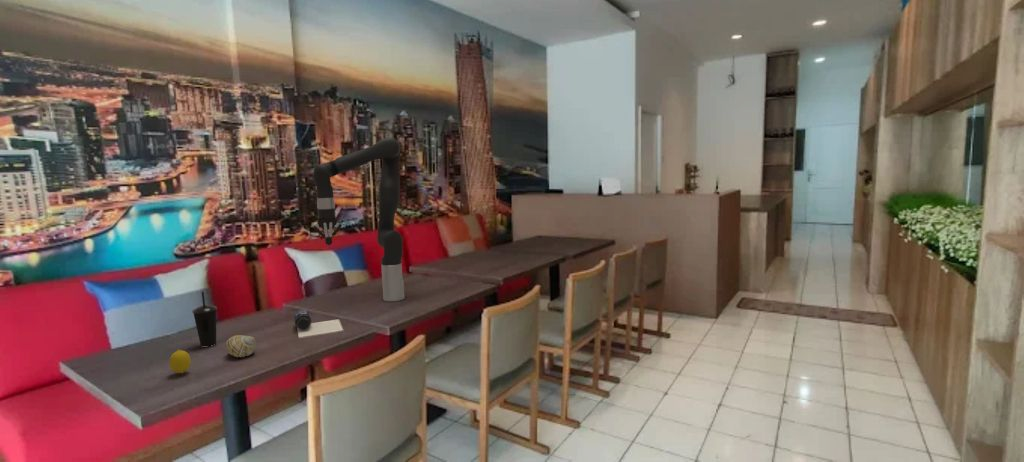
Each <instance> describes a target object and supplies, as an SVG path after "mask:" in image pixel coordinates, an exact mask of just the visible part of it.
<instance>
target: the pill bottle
mask: <svg viewBox="0 0 1024 462" xmlns="http://www.w3.org/2000/svg"><path fill="white" fill-rule="evenodd" d="M293 317H294V326H296V329H297V328H299V329H301V330H305V329H307V328H308V327H309V326H310V325H311V323H312V317H311V313H310V311H309V310H308V309H304V308H301V309H298V310H297V311H296V312H295V313H294V315H293Z"/></svg>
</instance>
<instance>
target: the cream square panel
mask: <svg viewBox="0 0 1024 462" xmlns="http://www.w3.org/2000/svg"><path fill="white" fill-rule="evenodd" d="M296 329H297V334H298V335H297V337H298V339H304V338H312V337H316V336H323V335H331V334H335V333H341V332H344V329H343V326H342V323H341V321H340V319H339V318H338V319H331V320H326V321H325V320H323V321H319V322H311V325H310V326H309V327H308V328H307V329H305V330H301V329H299V328H297V327H296Z"/></svg>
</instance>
